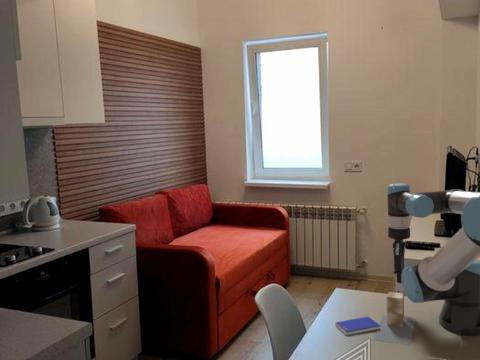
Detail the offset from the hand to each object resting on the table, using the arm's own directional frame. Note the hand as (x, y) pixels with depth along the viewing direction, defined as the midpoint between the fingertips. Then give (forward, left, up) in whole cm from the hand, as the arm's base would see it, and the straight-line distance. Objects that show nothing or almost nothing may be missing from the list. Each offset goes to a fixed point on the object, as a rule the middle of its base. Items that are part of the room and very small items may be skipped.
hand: (399, 290), depth 171 cm
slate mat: (0, +17, -8) cm, 19 cm away
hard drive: (+12, +19, -8) cm, 24 cm away
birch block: (0, +12, -8) cm, 14 cm away
